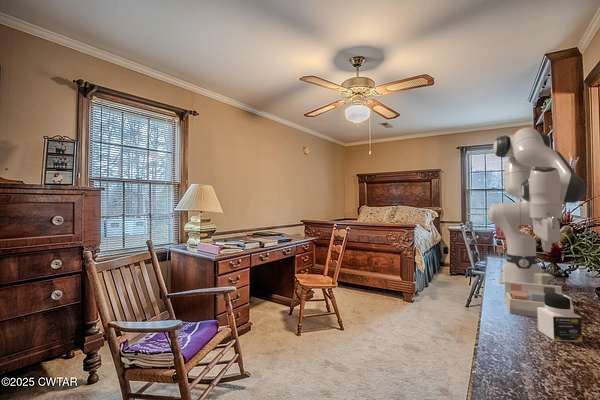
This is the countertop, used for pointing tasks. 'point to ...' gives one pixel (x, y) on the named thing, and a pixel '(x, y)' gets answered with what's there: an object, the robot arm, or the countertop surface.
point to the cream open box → (523, 305)
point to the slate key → (536, 296)
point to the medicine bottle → (559, 319)
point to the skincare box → (544, 279)
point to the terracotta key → (519, 296)
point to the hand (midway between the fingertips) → (546, 251)
